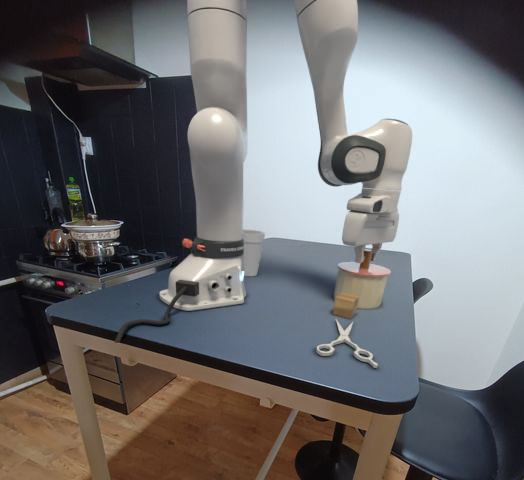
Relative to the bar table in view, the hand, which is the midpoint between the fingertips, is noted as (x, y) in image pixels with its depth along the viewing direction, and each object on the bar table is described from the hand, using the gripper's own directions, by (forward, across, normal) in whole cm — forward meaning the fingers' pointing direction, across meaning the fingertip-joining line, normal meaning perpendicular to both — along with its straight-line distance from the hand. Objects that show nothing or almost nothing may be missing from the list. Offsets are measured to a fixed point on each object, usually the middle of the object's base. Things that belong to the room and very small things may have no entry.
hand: (365, 261), depth 82 cm
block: (+11, +12, +4) cm, 17 cm away
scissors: (+11, +24, +13) cm, 30 cm away
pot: (+11, 0, 0) cm, 11 cm away
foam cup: (+11, +9, -36) cm, 39 cm away
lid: (+2, 0, 0) cm, 2 cm away
